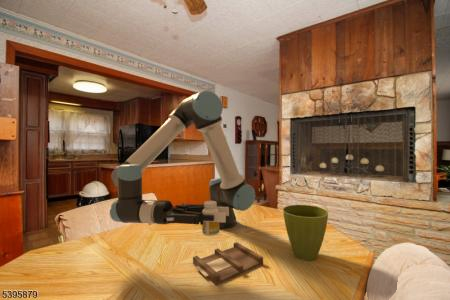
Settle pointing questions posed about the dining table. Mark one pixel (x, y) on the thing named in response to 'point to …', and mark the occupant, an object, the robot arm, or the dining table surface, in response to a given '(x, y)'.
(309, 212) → the flower pot
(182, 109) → the robot arm
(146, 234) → the dining table surface
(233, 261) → the slot board
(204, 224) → the supplement bottle
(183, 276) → the dining table surface
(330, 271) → the dining table surface
